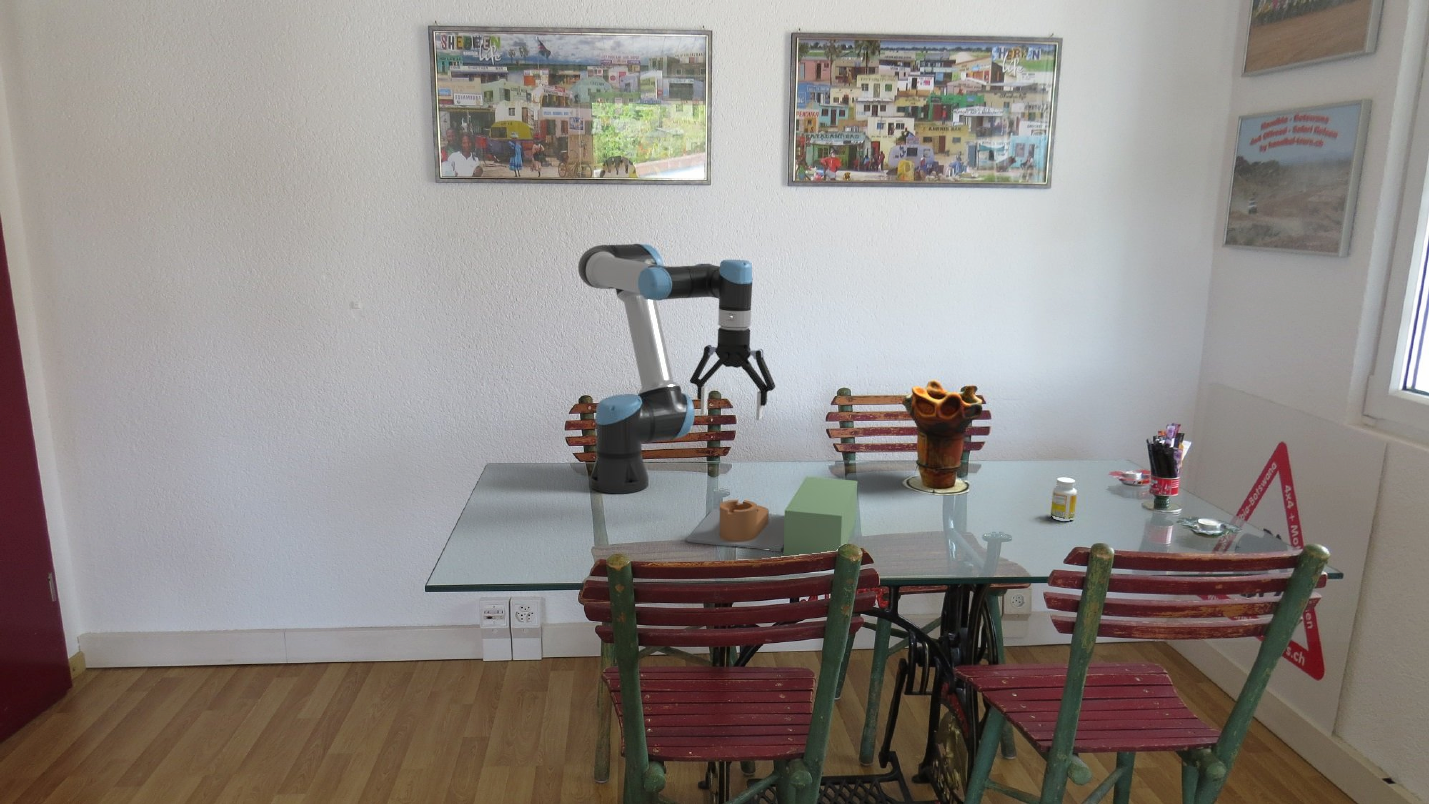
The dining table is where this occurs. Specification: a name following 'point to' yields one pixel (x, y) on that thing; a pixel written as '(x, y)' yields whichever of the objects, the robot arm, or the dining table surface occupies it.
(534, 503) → the dining table surface
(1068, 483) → the supplement bottle
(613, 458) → the robot arm
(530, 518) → the dining table surface
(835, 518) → the green cube on tray
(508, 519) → the dining table surface
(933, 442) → the decorative vase
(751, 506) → the bracket
